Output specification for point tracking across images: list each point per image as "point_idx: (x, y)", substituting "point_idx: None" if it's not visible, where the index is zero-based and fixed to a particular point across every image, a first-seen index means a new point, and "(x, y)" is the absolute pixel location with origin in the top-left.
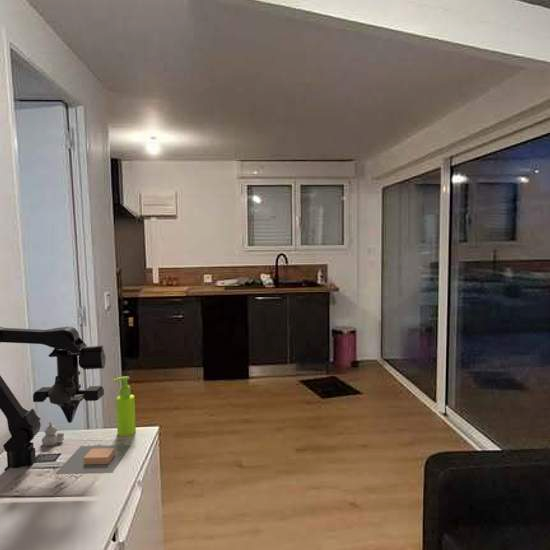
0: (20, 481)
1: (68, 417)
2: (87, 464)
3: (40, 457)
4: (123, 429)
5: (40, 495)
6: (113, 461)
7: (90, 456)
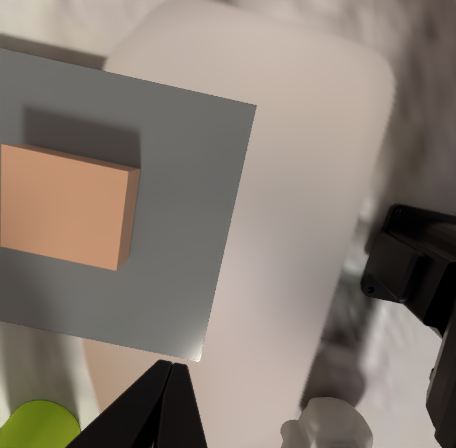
0: (402, 99)
1: (163, 403)
2: None
3: (351, 317)
4: (23, 436)
5: None
6: None
7: (96, 178)
